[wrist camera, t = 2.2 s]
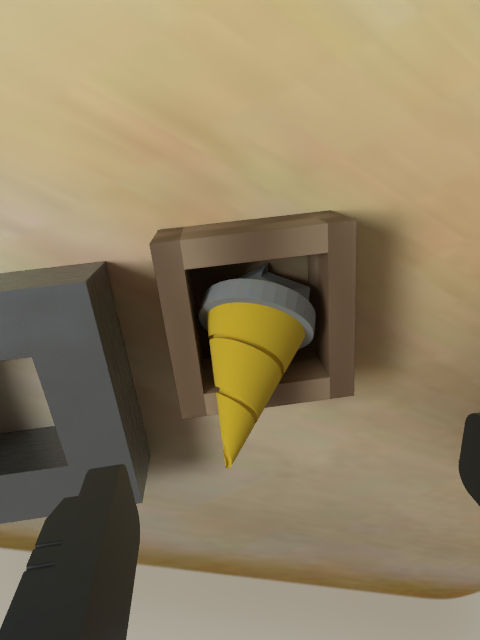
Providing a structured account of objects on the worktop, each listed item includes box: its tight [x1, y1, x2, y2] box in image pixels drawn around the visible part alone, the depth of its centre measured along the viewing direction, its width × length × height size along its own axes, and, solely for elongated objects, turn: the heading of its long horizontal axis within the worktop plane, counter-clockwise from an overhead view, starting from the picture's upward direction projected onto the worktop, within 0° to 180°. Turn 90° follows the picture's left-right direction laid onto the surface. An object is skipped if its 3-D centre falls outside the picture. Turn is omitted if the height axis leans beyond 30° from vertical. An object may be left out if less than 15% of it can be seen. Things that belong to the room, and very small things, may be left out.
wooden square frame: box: [150, 211, 357, 419], centre depth 19 cm, size 8×8×4 cm
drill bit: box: [199, 263, 316, 468], centre depth 18 cm, size 5×5×10 cm
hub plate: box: [0, 261, 150, 524], centre depth 19 cm, size 12×12×4 cm
